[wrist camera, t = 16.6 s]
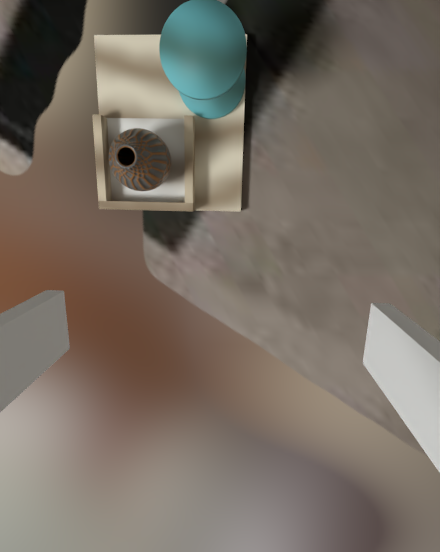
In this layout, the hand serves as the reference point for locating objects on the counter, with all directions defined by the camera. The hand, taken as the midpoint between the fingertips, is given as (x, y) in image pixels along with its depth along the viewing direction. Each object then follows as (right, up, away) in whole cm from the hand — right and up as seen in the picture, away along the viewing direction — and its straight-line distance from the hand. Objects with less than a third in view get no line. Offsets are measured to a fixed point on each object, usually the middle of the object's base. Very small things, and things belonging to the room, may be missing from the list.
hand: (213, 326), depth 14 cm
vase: (-9, +17, +28) cm, 34 cm away
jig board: (-6, +21, +28) cm, 35 cm away
